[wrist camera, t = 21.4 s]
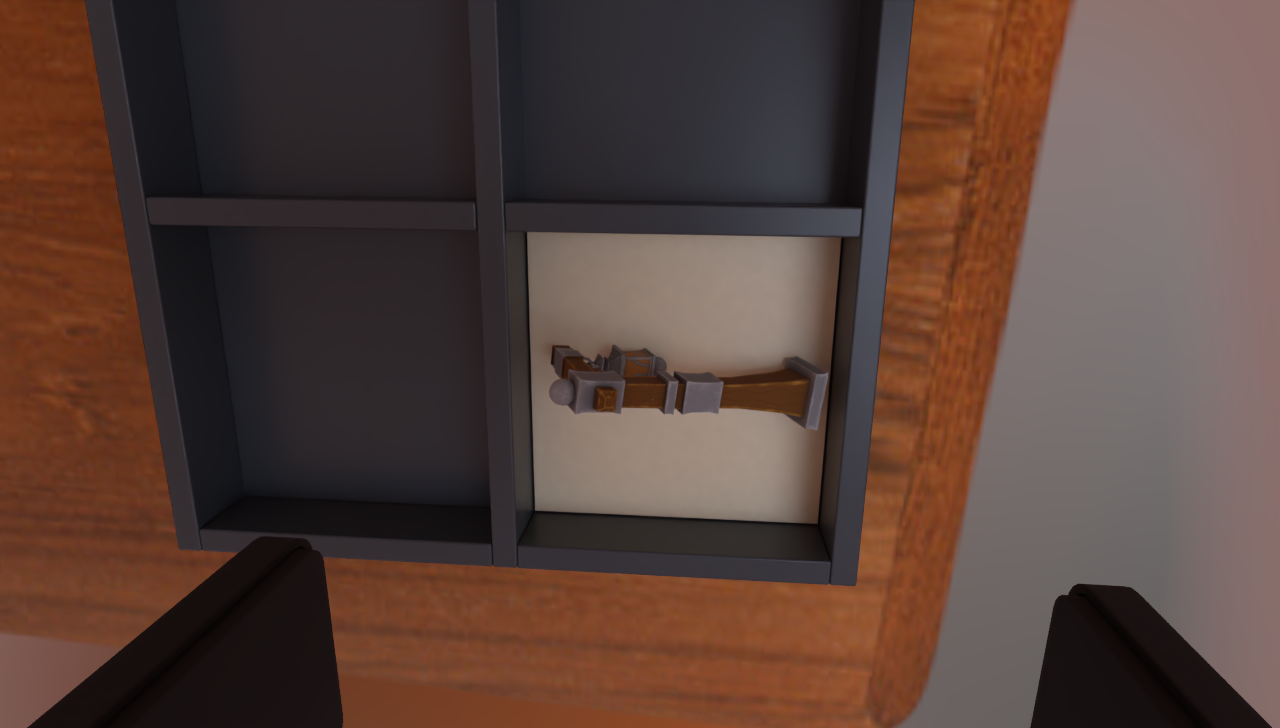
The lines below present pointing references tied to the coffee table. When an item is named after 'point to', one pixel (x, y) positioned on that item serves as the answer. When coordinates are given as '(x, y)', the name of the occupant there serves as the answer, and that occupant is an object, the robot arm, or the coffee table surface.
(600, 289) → the grid
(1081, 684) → the robot arm
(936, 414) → the coffee table surface
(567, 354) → the toy lamp post
